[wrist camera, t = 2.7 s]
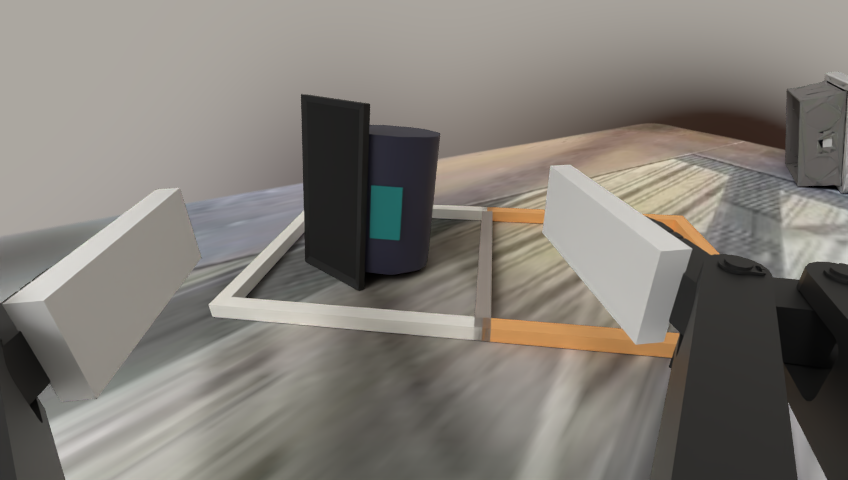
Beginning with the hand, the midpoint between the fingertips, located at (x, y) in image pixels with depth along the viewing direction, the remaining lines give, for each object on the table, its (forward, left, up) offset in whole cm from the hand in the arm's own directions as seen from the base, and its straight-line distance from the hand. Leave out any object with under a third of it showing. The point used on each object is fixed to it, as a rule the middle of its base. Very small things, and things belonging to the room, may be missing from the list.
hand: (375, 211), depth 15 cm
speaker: (-3, +10, -8) cm, 13 cm away
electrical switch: (+34, +30, -8) cm, 46 cm away
